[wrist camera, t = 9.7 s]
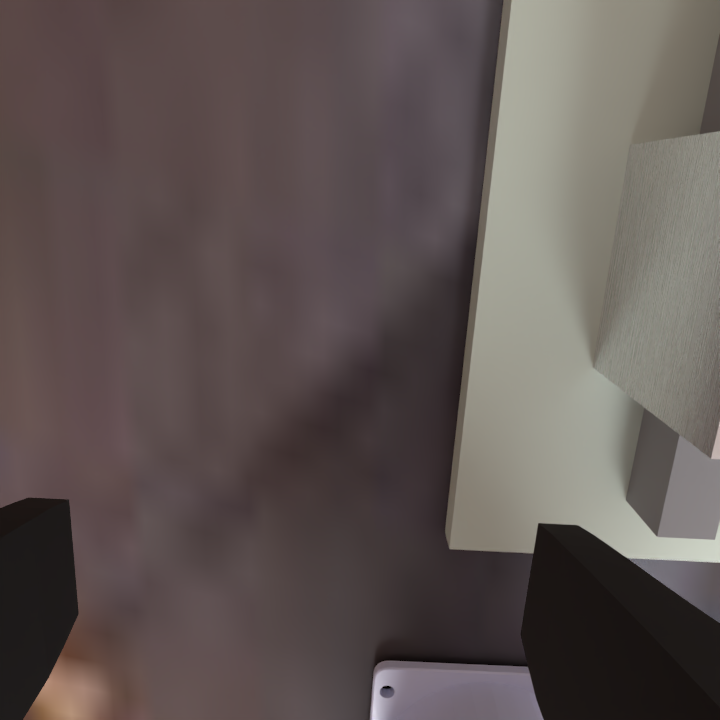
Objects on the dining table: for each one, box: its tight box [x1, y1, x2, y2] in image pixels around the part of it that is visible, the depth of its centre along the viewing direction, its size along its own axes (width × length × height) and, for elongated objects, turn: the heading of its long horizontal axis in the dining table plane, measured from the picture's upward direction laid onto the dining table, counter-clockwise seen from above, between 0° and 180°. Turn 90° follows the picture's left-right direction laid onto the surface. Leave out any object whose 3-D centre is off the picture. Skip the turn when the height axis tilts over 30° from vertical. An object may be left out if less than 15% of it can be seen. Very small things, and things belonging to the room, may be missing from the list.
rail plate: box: [445, 0, 720, 562], centre depth 16 cm, size 20×12×3 cm, turn 177°
